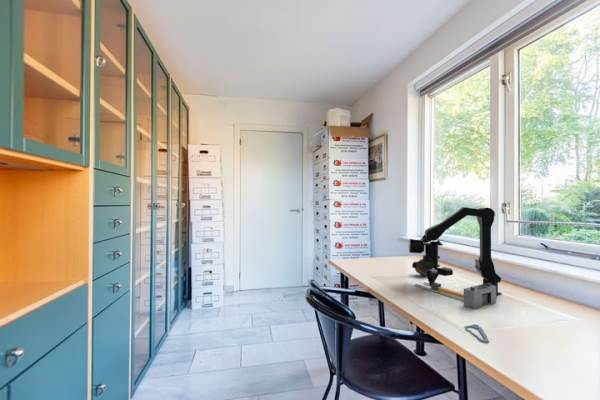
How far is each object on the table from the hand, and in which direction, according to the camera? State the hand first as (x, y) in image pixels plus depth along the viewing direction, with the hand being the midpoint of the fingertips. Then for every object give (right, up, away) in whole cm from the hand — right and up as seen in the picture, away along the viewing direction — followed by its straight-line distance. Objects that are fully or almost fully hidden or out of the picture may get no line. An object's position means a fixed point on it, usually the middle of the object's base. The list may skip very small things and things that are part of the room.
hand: (431, 285), depth 135 cm
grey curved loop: (-8, -1, -47) cm, 48 cm away
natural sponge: (+7, -2, +22) cm, 23 cm away
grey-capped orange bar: (+6, -1, -12) cm, 13 cm away
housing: (+4, -1, -9) cm, 10 cm away
